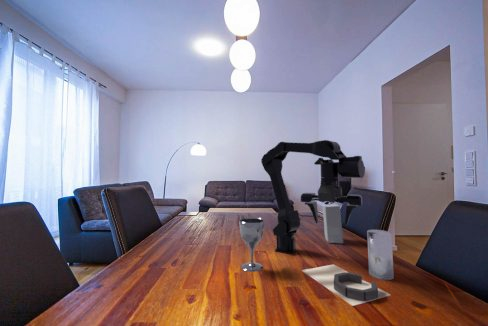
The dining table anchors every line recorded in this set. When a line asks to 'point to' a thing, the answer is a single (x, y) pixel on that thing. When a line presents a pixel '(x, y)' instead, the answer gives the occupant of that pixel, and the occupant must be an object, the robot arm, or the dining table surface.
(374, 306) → the dining table surface
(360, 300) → the ring stand
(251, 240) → the wine glass
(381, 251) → the grey round cylinder
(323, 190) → the robot arm
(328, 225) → the skincare box
